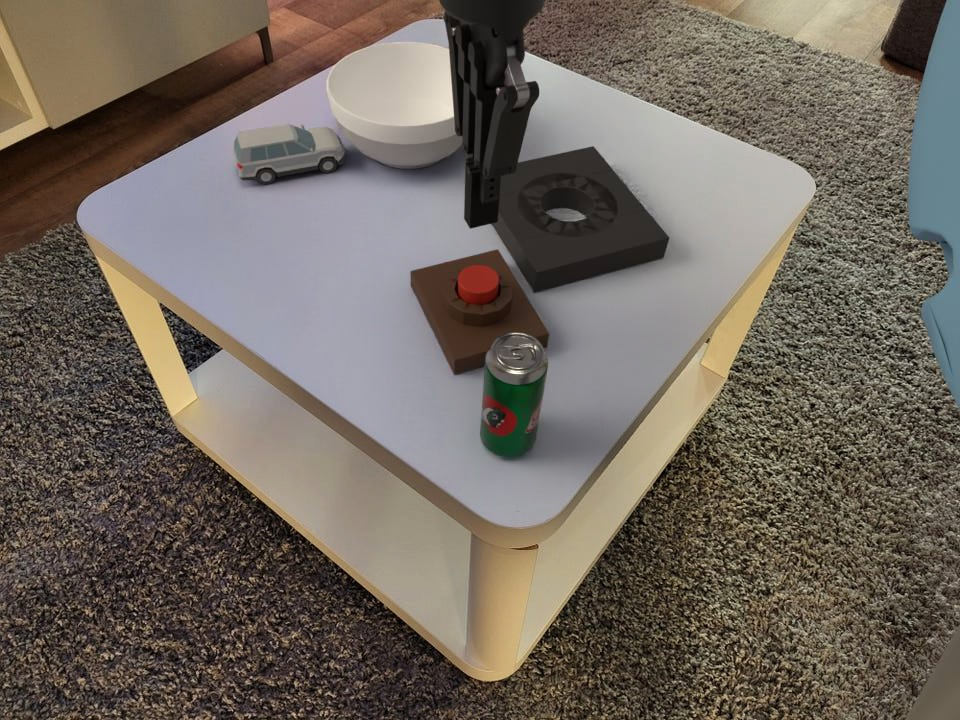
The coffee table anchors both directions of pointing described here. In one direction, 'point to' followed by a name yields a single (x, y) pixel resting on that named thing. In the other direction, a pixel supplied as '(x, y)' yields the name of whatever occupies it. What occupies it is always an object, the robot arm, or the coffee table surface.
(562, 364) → the coffee table surface
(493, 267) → the brown button base
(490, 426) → the soda can
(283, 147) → the toy car
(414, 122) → the bowl
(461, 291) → the button
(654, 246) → the holder
